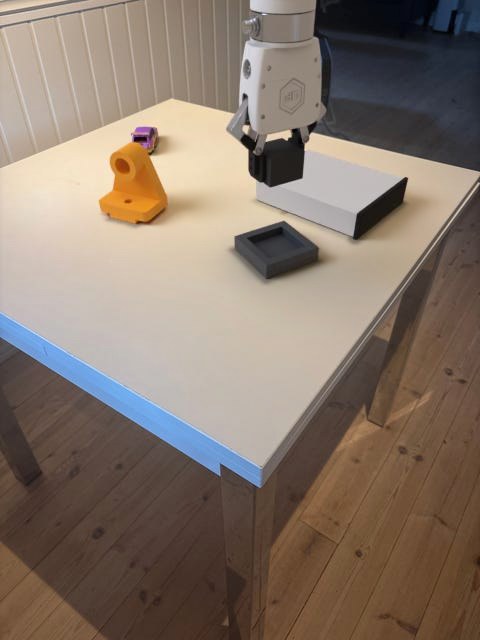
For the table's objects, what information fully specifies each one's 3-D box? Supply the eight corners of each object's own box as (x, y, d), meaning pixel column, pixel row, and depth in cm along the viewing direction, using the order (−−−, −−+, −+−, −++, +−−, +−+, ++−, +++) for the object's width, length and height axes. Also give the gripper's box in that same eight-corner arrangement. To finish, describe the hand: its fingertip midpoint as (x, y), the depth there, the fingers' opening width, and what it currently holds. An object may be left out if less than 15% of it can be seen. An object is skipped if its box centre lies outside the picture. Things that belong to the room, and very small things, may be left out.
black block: (280, 164, 72) (282, 137, 69) (302, 178, 68) (305, 150, 66) (249, 173, 70) (249, 145, 67) (270, 187, 66) (271, 159, 64)
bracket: (99, 214, 92) (85, 152, 84) (121, 198, 97) (110, 137, 89) (147, 226, 88) (137, 162, 80) (168, 208, 93) (160, 146, 85)
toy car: (160, 136, 121) (158, 117, 118) (153, 155, 112) (151, 135, 109) (138, 136, 121) (135, 117, 118) (129, 155, 112) (126, 135, 109)
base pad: (283, 232, 86) (284, 220, 84) (317, 260, 80) (319, 247, 78) (234, 248, 82) (234, 236, 81) (266, 279, 76) (266, 265, 74)
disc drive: (356, 240, 84) (361, 214, 81) (255, 200, 95) (255, 176, 92) (403, 202, 94) (409, 177, 91) (306, 170, 105) (308, 147, 102)
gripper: (234, 42, 51) (237, 199, 63) (359, 24, 58) (340, 169, 70) (202, 30, 56) (210, 177, 68) (320, 14, 63) (309, 151, 75)
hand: (276, 172), depth 69 cm, fingers closed on black block, 5 cm apart
